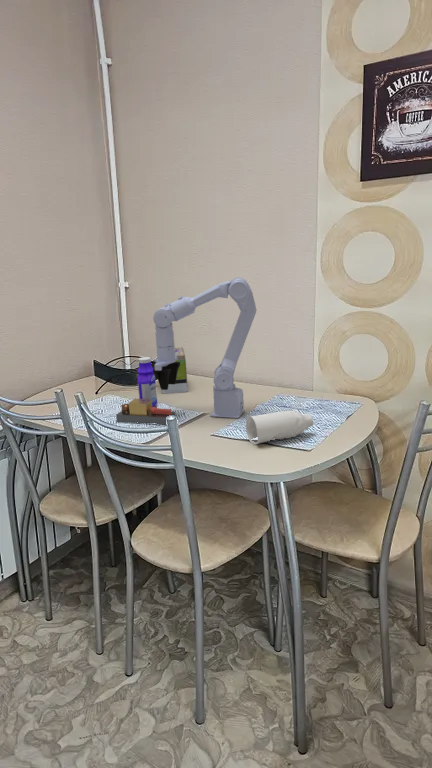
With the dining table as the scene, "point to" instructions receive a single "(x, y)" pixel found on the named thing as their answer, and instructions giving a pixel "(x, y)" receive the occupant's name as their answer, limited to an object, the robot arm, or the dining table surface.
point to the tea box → (179, 375)
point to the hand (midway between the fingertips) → (168, 386)
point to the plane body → (140, 417)
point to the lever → (160, 411)
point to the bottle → (146, 380)
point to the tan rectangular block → (140, 407)
